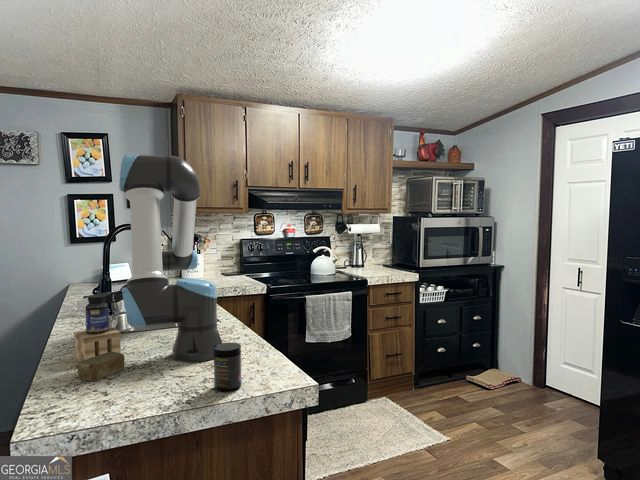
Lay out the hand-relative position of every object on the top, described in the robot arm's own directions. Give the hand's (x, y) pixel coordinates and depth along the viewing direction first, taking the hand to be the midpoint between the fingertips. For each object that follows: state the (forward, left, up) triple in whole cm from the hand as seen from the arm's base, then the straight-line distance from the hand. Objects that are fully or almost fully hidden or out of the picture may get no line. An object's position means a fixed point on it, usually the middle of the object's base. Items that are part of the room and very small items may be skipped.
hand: (99, 305), depth 133 cm
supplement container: (-49, -14, -16) cm, 54 cm away
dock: (-1, +1, -16) cm, 16 cm away
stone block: (-16, +5, -16) cm, 24 cm away
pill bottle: (-1, +1, -8) cm, 8 cm away
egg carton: (+39, -15, -16) cm, 45 cm away
